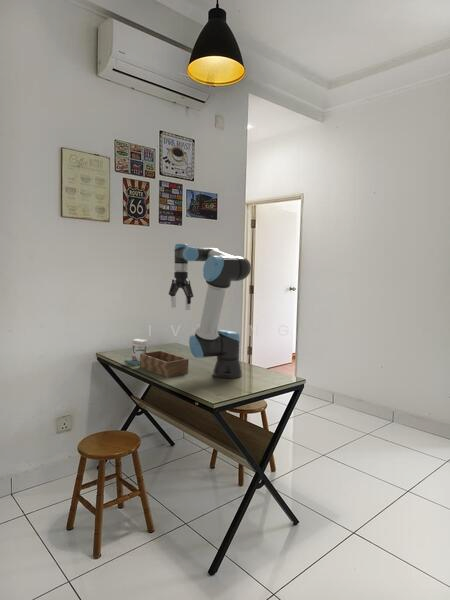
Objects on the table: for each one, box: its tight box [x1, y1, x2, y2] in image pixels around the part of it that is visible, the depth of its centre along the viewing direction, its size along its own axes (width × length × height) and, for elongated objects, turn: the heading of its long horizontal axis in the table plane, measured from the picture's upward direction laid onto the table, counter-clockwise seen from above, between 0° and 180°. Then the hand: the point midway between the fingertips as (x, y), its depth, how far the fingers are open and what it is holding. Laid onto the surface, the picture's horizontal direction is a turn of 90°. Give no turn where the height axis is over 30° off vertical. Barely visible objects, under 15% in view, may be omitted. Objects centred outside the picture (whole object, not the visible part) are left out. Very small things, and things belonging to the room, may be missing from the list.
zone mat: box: [124, 357, 140, 366], centre depth 241 cm, size 12×12×1 cm
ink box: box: [131, 338, 149, 361], centre depth 240 cm, size 9×5×12 cm, turn 62°
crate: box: [139, 350, 189, 378], centre depth 225 cm, size 26×14×8 cm, turn 43°
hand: (180, 308), depth 238 cm, fingers open, 13 cm apart
